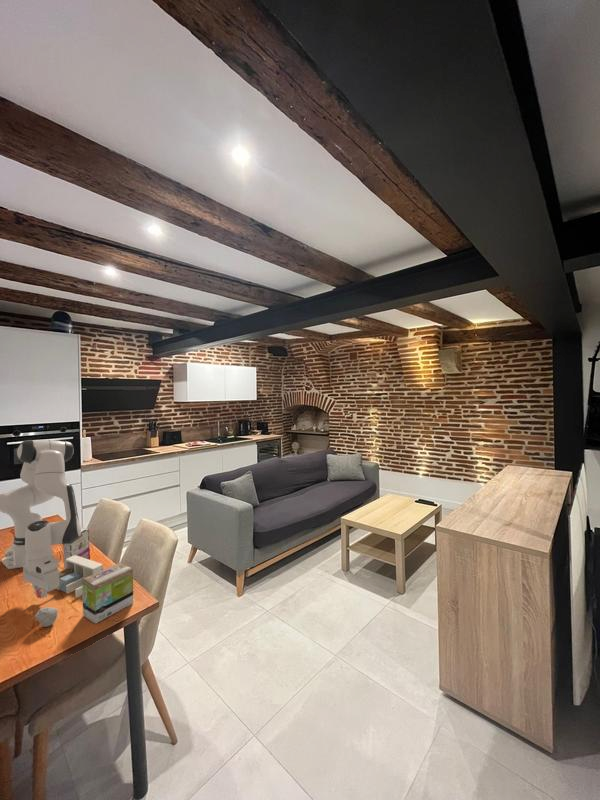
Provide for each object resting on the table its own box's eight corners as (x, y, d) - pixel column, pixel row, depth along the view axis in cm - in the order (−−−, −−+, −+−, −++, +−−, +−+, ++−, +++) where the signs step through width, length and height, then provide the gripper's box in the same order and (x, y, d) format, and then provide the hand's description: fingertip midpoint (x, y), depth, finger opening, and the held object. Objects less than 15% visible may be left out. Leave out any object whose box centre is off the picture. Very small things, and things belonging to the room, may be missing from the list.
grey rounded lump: (33, 627, 126) (33, 608, 126) (56, 617, 131) (55, 599, 131) (37, 634, 122) (36, 615, 121) (61, 624, 127) (60, 605, 127)
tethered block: (33, 601, 140) (33, 589, 140) (73, 583, 155) (73, 572, 155) (39, 604, 138) (39, 592, 138) (79, 585, 152) (79, 574, 153)
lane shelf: (48, 585, 153) (47, 566, 153) (75, 573, 163) (75, 555, 163) (76, 597, 143) (75, 577, 143) (103, 583, 154) (103, 564, 154)
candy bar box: (82, 558, 178) (81, 527, 177) (90, 559, 177) (89, 528, 176) (63, 570, 167) (62, 536, 166) (71, 570, 166) (70, 537, 165)
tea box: (96, 625, 126) (94, 585, 126) (82, 616, 131) (81, 578, 131) (134, 603, 139) (133, 567, 138) (120, 595, 144) (119, 561, 144)
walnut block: (52, 585, 153) (52, 574, 153) (67, 579, 158) (66, 568, 158) (58, 588, 151) (58, 577, 151) (72, 581, 156) (72, 570, 156)
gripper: (17, 560, 142) (18, 593, 143) (44, 571, 133) (46, 606, 133) (34, 553, 148) (36, 585, 148) (62, 563, 139) (63, 597, 139)
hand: (41, 595), depth 141 cm, fingers closed on tethered block, 3 cm apart
